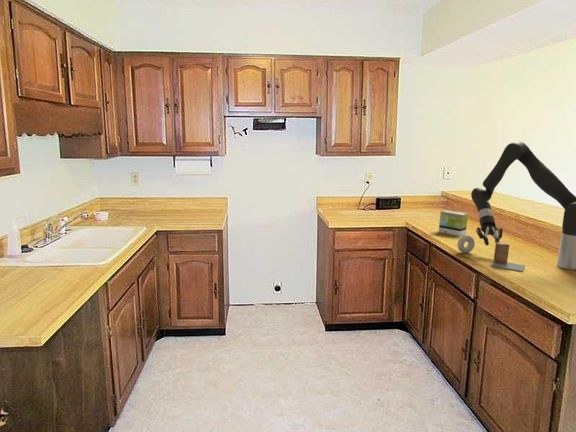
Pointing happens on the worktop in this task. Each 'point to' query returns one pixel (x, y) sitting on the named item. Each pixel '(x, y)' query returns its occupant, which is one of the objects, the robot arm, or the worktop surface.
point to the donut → (470, 244)
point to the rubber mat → (509, 266)
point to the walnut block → (501, 253)
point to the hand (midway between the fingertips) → (492, 244)
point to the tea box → (453, 223)
